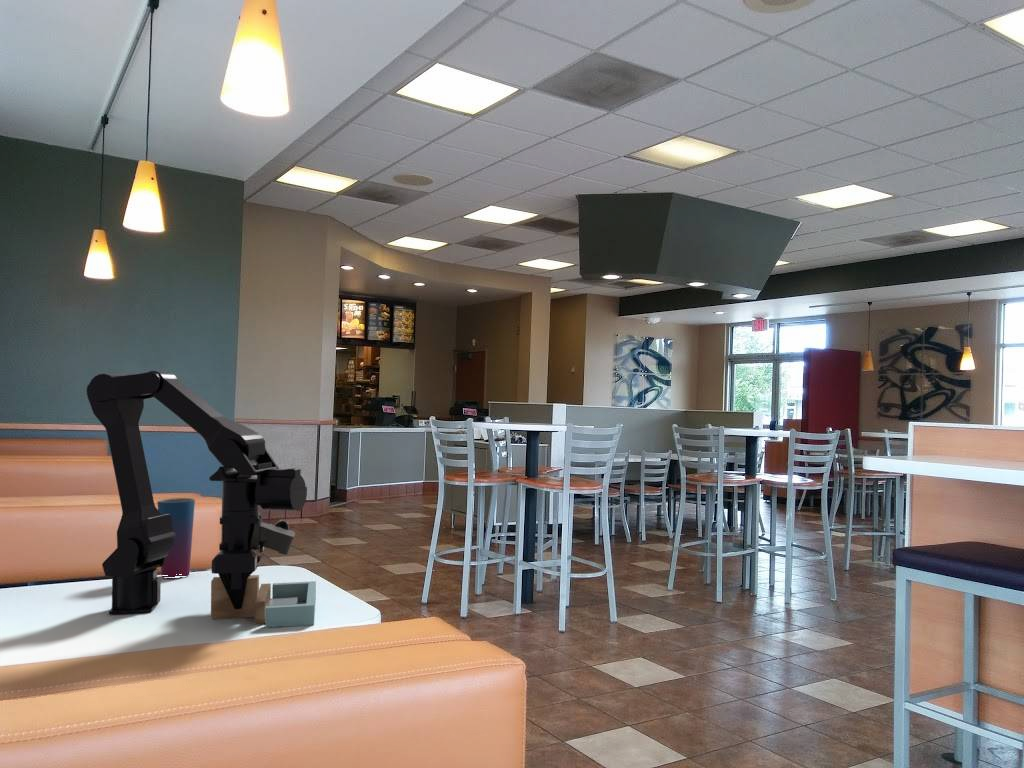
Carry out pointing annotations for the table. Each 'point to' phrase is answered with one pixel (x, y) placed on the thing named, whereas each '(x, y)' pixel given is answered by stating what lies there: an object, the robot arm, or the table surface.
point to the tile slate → (283, 601)
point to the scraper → (252, 601)
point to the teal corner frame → (292, 613)
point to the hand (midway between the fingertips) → (239, 606)
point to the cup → (178, 535)
